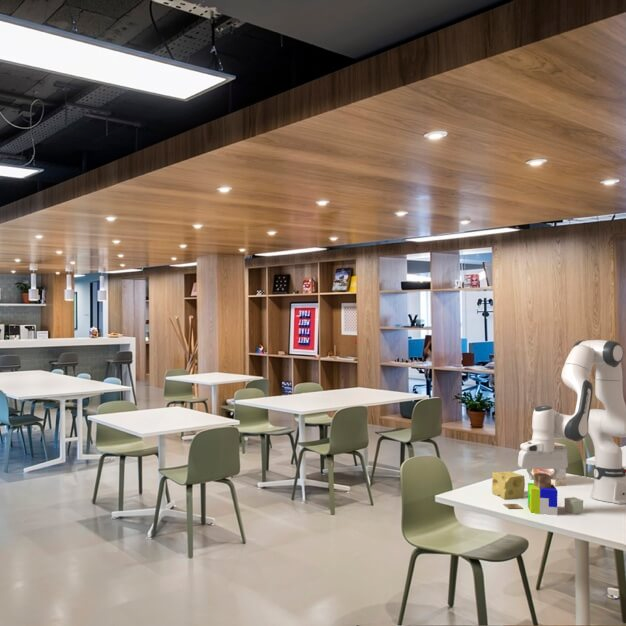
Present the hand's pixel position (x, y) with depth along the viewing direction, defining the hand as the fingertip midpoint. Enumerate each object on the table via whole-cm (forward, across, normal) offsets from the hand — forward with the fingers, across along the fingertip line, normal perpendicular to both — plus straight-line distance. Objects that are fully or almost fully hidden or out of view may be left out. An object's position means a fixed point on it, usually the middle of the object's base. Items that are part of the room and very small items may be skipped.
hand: (542, 479), depth 258 cm
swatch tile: (+13, +10, -6) cm, 17 cm away
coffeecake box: (+13, -26, -46) cm, 54 cm away
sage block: (+13, -13, +1) cm, 18 cm away
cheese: (+13, +5, -23) cm, 27 cm away
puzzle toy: (+13, 0, 0) cm, 13 cm away
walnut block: (+3, 0, 0) cm, 3 cm away
